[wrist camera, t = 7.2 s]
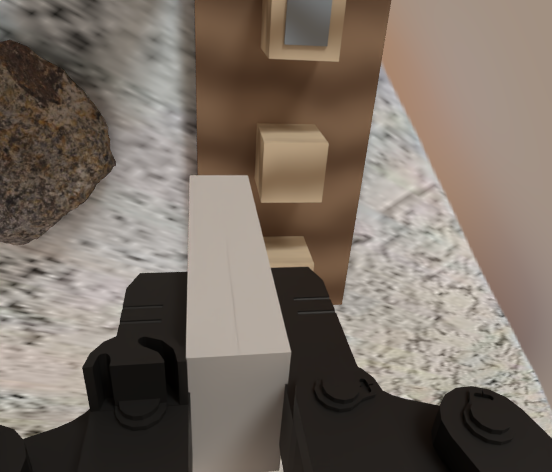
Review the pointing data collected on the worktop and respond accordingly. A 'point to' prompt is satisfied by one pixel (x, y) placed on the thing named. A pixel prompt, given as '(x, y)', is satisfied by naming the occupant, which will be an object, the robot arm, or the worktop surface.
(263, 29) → the marked block 2
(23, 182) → the rock
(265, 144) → the plain beech block
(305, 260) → the marked block 1
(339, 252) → the walnut board
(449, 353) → the worktop surface
